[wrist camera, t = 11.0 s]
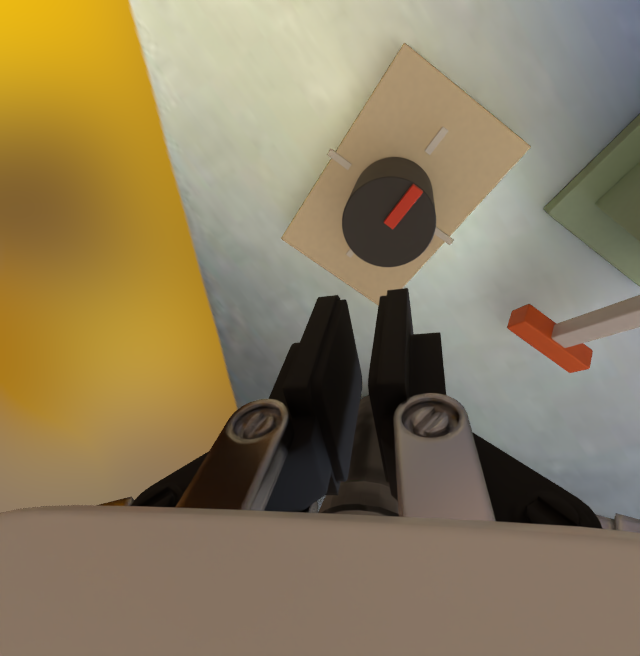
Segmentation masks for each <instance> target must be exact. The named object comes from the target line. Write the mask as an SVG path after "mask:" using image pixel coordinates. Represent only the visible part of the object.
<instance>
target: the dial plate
mask: <svg viewBox="0 0 640 656" xmlns="http://www.w3.org/2000/svg"><path fill="white" fill-rule="evenodd" d="M530 147H531V146H530V145H529V144H527V143H526V142H525V141H524V140H523V139H521V138H520V137H519V136H518V135H517V134H515V133H514V132H513V131H512V130H510V129H509V128H508V127H507V126H506V125H504V124H503V123H502V122H501V121H499V120H498V119H497V118H496V117H495V116H493V115H492V114H491V113H490V112H488V111H487V110H486V109H485V108H484V107H482V106H481V105H480V104H479V103H478V102H476V101H475V100H474V99H473V98H471V97H470V96H469V95H468V94H467V93H465V92H464V91H463V90H462V89H460V88H459V87H458V86H457V85H456V84H454V83H453V82H452V81H451V80H450V79H448V78H447V77H446V76H445V75H443V74H442V73H441V72H440V71H439V70H437V69H436V68H435V67H434V66H432V65H431V64H430V63H429V62H428V61H426V60H425V59H424V58H423V57H422V56H420V55H419V54H418V53H417V52H415V51H414V50H413V49H412V48H411V47H409V46H408V45H407V44H406V43H404V44H403V45H402V47H401V49H400V50H399V52H398V53H397V55H396V57H395V58H394V60H393V61H392V63H391V64H390V66H389V68H388V69H387V71H386V72H385V74H384V76H383V77H382V79H381V80H380V82H379V84H378V85H377V87H376V88H375V90H374V91H373V93H372V95H371V96H370V98H369V99H368V101H367V103H366V104H365V106H364V107H363V109H362V111H361V112H360V114H359V115H358V117H357V118H356V120H355V122H354V123H353V125H352V126H351V128H350V130H349V131H348V133H347V134H346V136H345V138H344V139H343V141H342V142H341V144H340V145H339V147H338V149H337V150H336V152H335V151H334V150H332V149H330V150H329V152H328V154H327V155H328V156H329V157H331V160H330V161H329V163H328V165H327V166H326V168H325V169H324V171H323V172H322V174H321V176H320V177H319V179H318V180H317V182H316V184H315V185H314V187H313V188H312V190H311V191H310V193H309V195H308V196H307V198H306V199H305V201H304V203H303V204H302V206H301V207H300V209H299V211H298V212H297V214H296V215H295V217H294V218H293V220H292V222H291V223H290V225H289V226H288V228H287V230H286V231H285V233H284V234H283V236H282V238H281V239H282V240H284V241H285V242H286V243H288V244H289V245H291V246H292V247H294V248H295V249H297V250H298V251H300V252H301V253H303V254H304V255H305V256H307V257H308V258H310V259H311V260H313V261H314V262H316V263H317V264H319V265H320V266H322V267H323V268H324V269H326V270H327V271H329V272H330V273H332V274H333V275H335V276H336V277H338V278H339V279H341V280H342V281H343V282H345V283H346V284H348V285H349V286H351V287H352V288H354V289H355V290H357V291H358V292H360V293H361V294H362V295H364V296H365V297H367V298H368V299H370V300H371V301H373V302H374V303H376V304H377V305H379V300H380V296H386V295H387V290H394V289H402V288H403V287H404V286H405V285H406V284H407V283H408V282H409V281H410V280H411V278H412V277H413V276H414V275H415V274H416V273H417V272H418V271H419V270H420V269H421V267H422V266H423V265H424V264H425V263H426V262H427V261H428V260H429V259H430V258H431V256H432V255H433V254H434V253H435V252H436V251H437V250H438V249H439V248H440V247H441V245H442V244H443V243H444V242H446V243H447V244H449V245H451V244H452V242H453V241H454V239H452V238H451V237H450V236H451V234H452V233H453V232H454V231H455V230H456V229H457V228H458V227H459V226H460V225H461V223H462V222H463V221H464V220H465V219H466V218H467V217H468V216H469V215H470V214H471V213H472V211H473V210H474V209H475V208H476V207H477V206H478V205H479V204H480V203H481V202H482V200H483V199H484V198H485V197H486V196H487V195H488V194H489V193H490V192H491V191H492V189H493V188H494V187H495V186H496V185H497V184H498V183H499V182H500V181H501V180H502V178H503V177H504V176H505V175H506V174H507V173H508V172H509V171H510V170H511V169H512V167H513V166H514V165H515V164H516V163H517V162H518V161H519V160H520V159H521V158H522V157H523V155H524V154H525V153H526V152H527V151H528V150H529V149H530ZM387 157H401V158H406V159H409V160H411V161H413V162H415V163H416V164H418V165H419V166H420V167H421V168H422V169H423V170H424V171H425V172H426V174H427V175H428V177H429V179H430V181H431V185H432V189H433V197H434V204H435V212H436V229H435V233H434V236H433V239H432V241H431V243H430V244H429V246H428V247H427V249H426V250H425V251H424V252H423V253H422V254H421V255H420V256H419V257H417V258H416V259H415V260H413V261H411V262H409V263H407V264H404V265H401V266H397V267H379V266H375V265H372V264H369V263H367V262H365V261H363V260H362V259H360V258H359V257H358V256H357V255H356V254H355V253H354V252H353V251H352V250H351V249H350V247H349V246H348V244H347V242H346V240H345V238H344V234H343V230H342V216H343V211H344V208H345V206H346V203H347V201H348V199H349V197H350V195H351V192H352V190H353V188H354V186H355V184H356V182H357V180H358V178H359V176H360V175H361V173H362V172H363V171H364V170H365V169H366V168H367V167H368V166H369V165H371V164H372V163H374V162H376V161H378V160H380V159H383V158H387Z"/></svg>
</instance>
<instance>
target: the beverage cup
mask: <svg viewBox="0 0 640 656" xmlns="http://www.w3.org/2000/svg"><path fill="white" fill-rule="evenodd" d="M318 513H326V514H350V515H372V516H393V517H399V511H398V501H397V500H396V499H395V498H394V497H393V496H392V495H391V491H390V486H389V483H387V482H386V479H385V474H384V469H383V464H382V459H381V453H380V448H379V443H378V438H377V433H376V428H375V423H374V418H373V412H372V407H371V402H370V397H369V396H367V397H364V398H362V399H361V400H360V404H359V410H358V416H357V423H356V429H355V435H354V442H353V448H352V454H351V461H350V467H349V474H348V479H347V481H346V482H340V487H339V492H338V495H326V497H325V499H324V501H323V503H322V505H321V508H320V510H319V512H318Z"/></svg>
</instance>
